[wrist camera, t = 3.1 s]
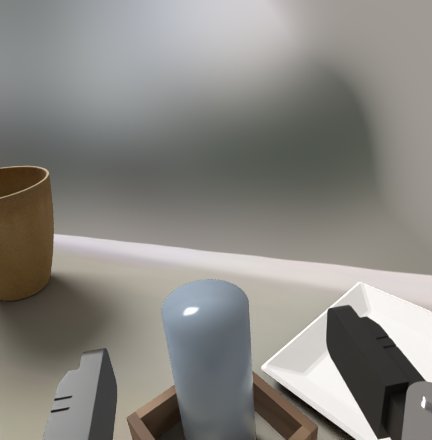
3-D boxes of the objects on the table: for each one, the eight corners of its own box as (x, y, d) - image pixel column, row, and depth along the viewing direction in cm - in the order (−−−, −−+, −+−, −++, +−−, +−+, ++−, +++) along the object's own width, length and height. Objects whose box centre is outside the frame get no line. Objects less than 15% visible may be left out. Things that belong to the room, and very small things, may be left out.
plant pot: (49, 319, 47) (7, 204, 40) (-59, 320, 49) (-117, 209, 42) (92, 256, 60) (67, 161, 53) (6, 258, 62) (-29, 166, 55)
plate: (358, 293, 47) (360, 279, 46) (546, 377, 34) (553, 360, 34) (260, 381, 37) (259, 366, 36) (480, 551, 24) (488, 534, 23)
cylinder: (217, 504, 27) (195, 352, 20) (175, 447, 31) (145, 305, 24) (271, 452, 30) (267, 305, 23) (226, 406, 34) (211, 269, 27)
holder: (212, 566, 24) (206, 538, 22) (134, 445, 31) (126, 417, 30) (315, 454, 30) (317, 426, 28) (228, 374, 37) (226, 348, 36)
